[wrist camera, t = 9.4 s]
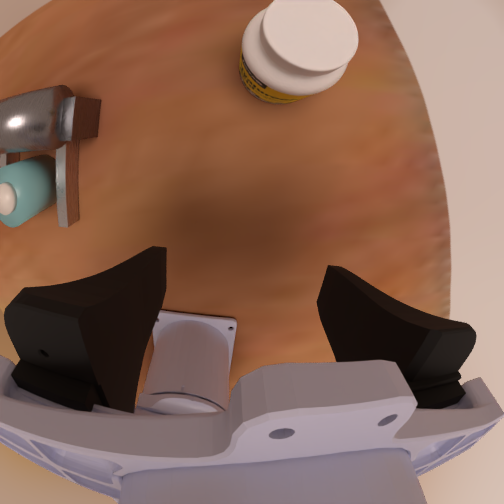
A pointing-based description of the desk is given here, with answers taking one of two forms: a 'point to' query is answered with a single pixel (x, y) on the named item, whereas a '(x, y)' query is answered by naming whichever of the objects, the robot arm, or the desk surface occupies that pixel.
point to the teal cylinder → (27, 189)
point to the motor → (50, 136)
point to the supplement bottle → (296, 49)
